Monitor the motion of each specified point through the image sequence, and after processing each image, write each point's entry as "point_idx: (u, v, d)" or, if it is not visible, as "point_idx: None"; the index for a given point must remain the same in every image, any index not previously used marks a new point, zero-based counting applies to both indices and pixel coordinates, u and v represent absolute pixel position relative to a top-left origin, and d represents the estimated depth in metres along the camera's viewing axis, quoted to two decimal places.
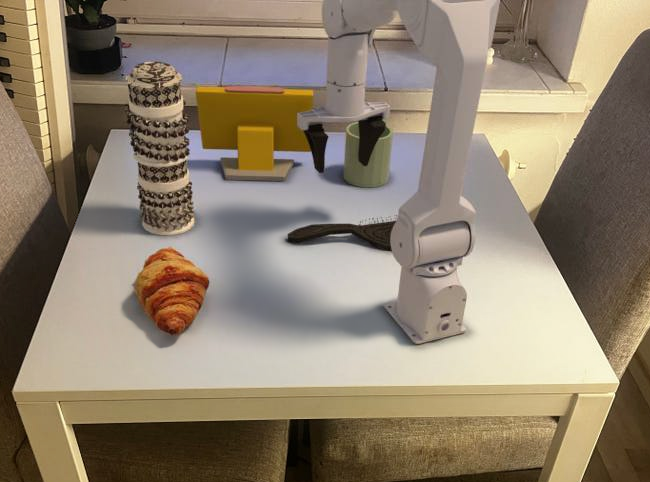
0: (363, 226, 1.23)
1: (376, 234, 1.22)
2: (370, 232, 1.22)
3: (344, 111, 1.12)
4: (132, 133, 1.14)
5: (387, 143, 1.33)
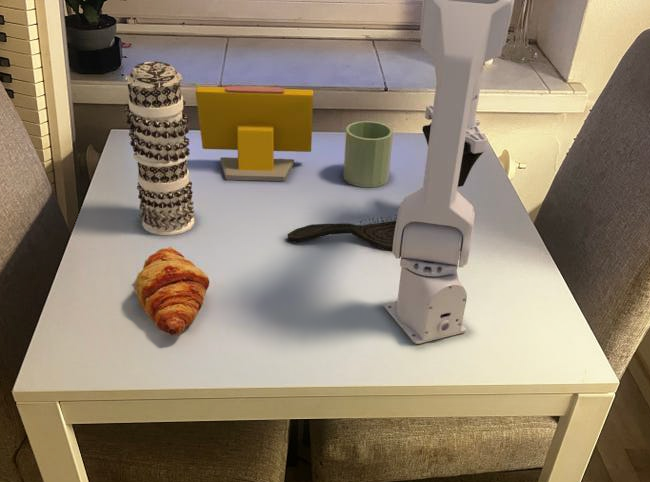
0: (363, 226, 1.23)
1: (376, 234, 1.22)
2: (370, 232, 1.22)
3: None
4: (132, 133, 1.14)
5: (387, 143, 1.33)
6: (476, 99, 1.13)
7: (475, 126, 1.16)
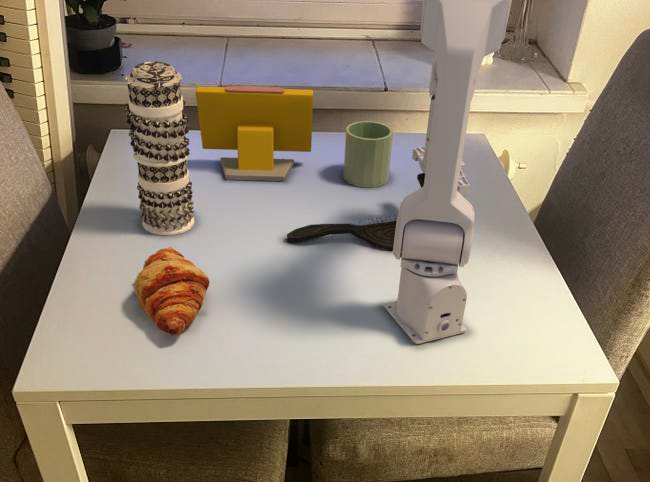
0: (362, 226, 1.23)
1: (375, 234, 1.22)
2: (369, 232, 1.22)
3: (423, 159, 1.20)
4: (132, 133, 1.14)
5: (387, 143, 1.33)
6: None
7: (460, 170, 1.19)
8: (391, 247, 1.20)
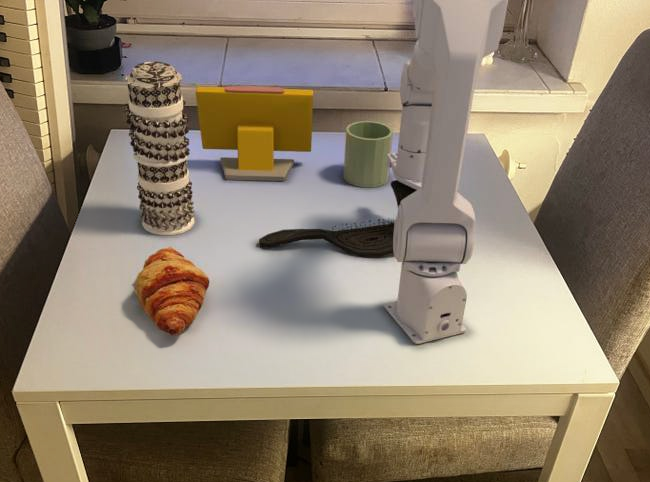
0: (336, 232, 1.22)
1: (349, 240, 1.21)
2: (343, 238, 1.21)
3: (396, 166, 1.19)
4: (132, 133, 1.14)
5: (387, 143, 1.33)
6: None
7: None
8: (364, 253, 1.18)
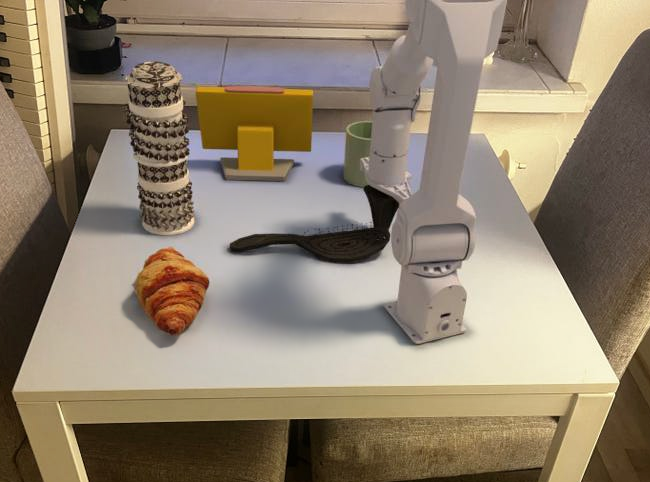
0: (308, 236, 1.20)
1: (321, 245, 1.19)
2: (315, 243, 1.19)
3: (368, 170, 1.17)
4: (132, 133, 1.14)
5: None
6: (404, 156, 1.14)
7: (405, 181, 1.17)
8: (335, 259, 1.17)
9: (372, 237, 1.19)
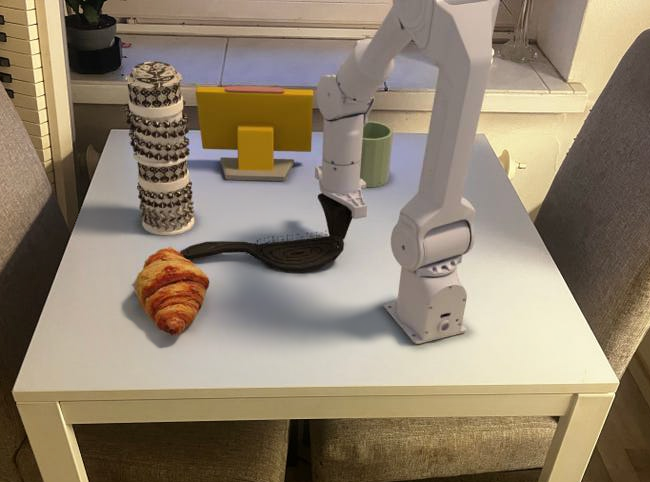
0: (261, 245, 1.18)
1: (273, 254, 1.17)
2: (267, 251, 1.17)
3: (321, 178, 1.14)
4: (132, 133, 1.14)
5: (387, 143, 1.33)
6: (357, 164, 1.11)
7: (359, 189, 1.14)
8: (286, 268, 1.14)
9: (326, 246, 1.17)
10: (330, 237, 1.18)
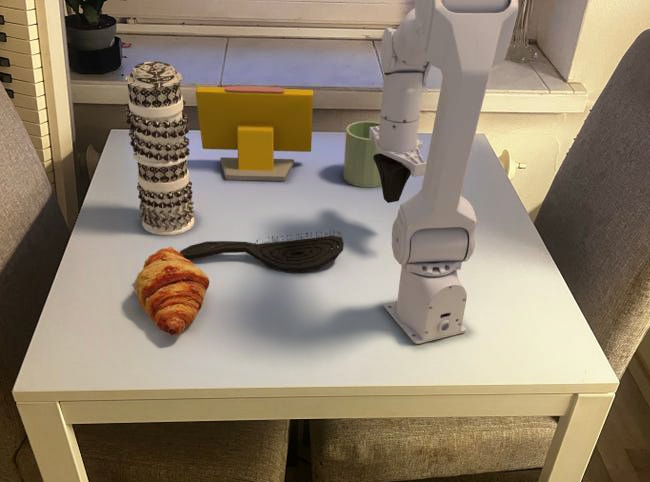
0: (261, 245, 1.18)
1: (273, 254, 1.17)
2: (267, 251, 1.17)
3: (378, 138, 1.14)
4: (132, 133, 1.14)
5: None
6: (416, 122, 1.11)
7: (416, 148, 1.14)
8: (286, 268, 1.14)
9: (326, 246, 1.17)
10: (330, 237, 1.18)
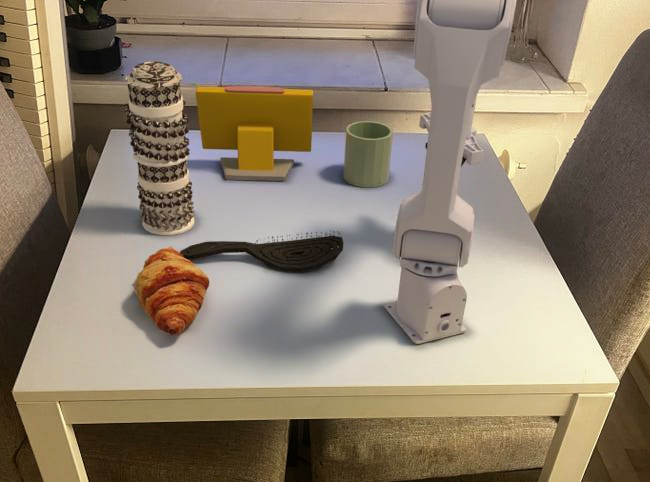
0: (261, 245, 1.18)
1: (273, 254, 1.17)
2: (267, 251, 1.17)
3: None
4: (132, 133, 1.14)
5: (387, 143, 1.33)
6: (472, 108, 1.07)
7: (471, 136, 1.10)
8: (286, 268, 1.14)
9: (326, 246, 1.17)
10: (330, 237, 1.18)
